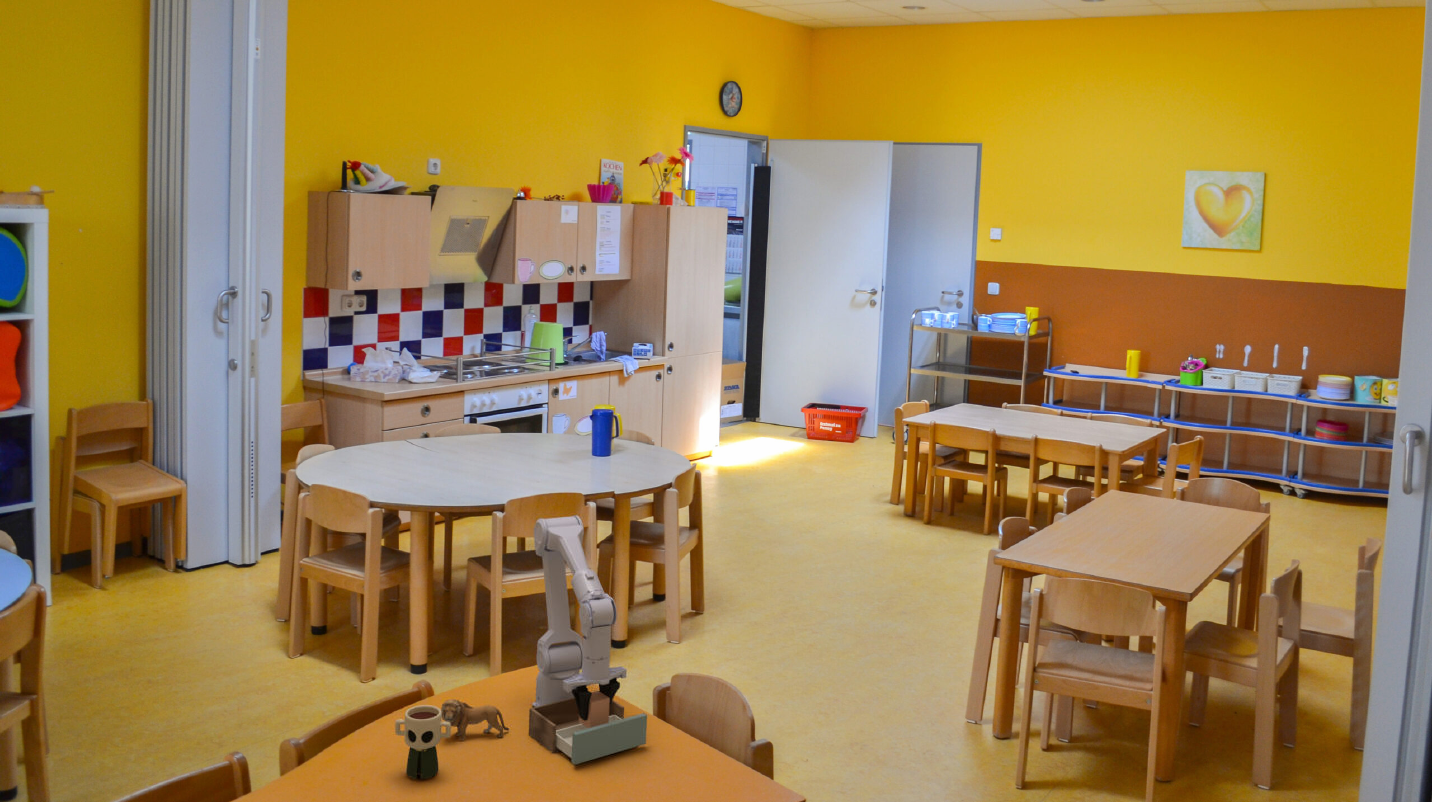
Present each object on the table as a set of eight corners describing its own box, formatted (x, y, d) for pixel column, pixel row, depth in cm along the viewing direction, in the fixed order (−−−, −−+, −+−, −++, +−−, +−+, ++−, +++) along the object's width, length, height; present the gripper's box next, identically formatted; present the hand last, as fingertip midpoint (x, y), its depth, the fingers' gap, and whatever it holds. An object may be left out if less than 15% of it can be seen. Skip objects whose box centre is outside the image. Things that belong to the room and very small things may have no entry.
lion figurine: (443, 746, 245) (443, 706, 244) (437, 735, 250) (438, 695, 249) (512, 736, 252) (513, 697, 250) (505, 726, 256) (506, 687, 255)
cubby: (528, 734, 253) (529, 708, 252) (597, 716, 264) (598, 690, 263) (552, 753, 245) (553, 725, 244) (623, 733, 256) (624, 707, 255)
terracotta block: (578, 721, 249) (579, 694, 248) (596, 716, 252) (597, 690, 251) (590, 729, 245) (591, 702, 244) (608, 724, 248) (609, 697, 247)
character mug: (389, 781, 230) (390, 718, 228) (399, 763, 237) (400, 703, 235) (445, 784, 230) (447, 721, 228) (453, 766, 237) (455, 705, 235)
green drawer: (547, 744, 247) (548, 715, 246) (617, 724, 258) (619, 697, 256) (574, 764, 238) (575, 734, 237) (645, 743, 249) (647, 715, 248)
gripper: (576, 668, 239) (574, 731, 241) (635, 654, 248) (632, 715, 250) (558, 656, 244) (556, 718, 246) (616, 643, 253) (614, 703, 255)
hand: (593, 715), depth 248 cm, fingers closed on terracotta block, 4 cm apart
